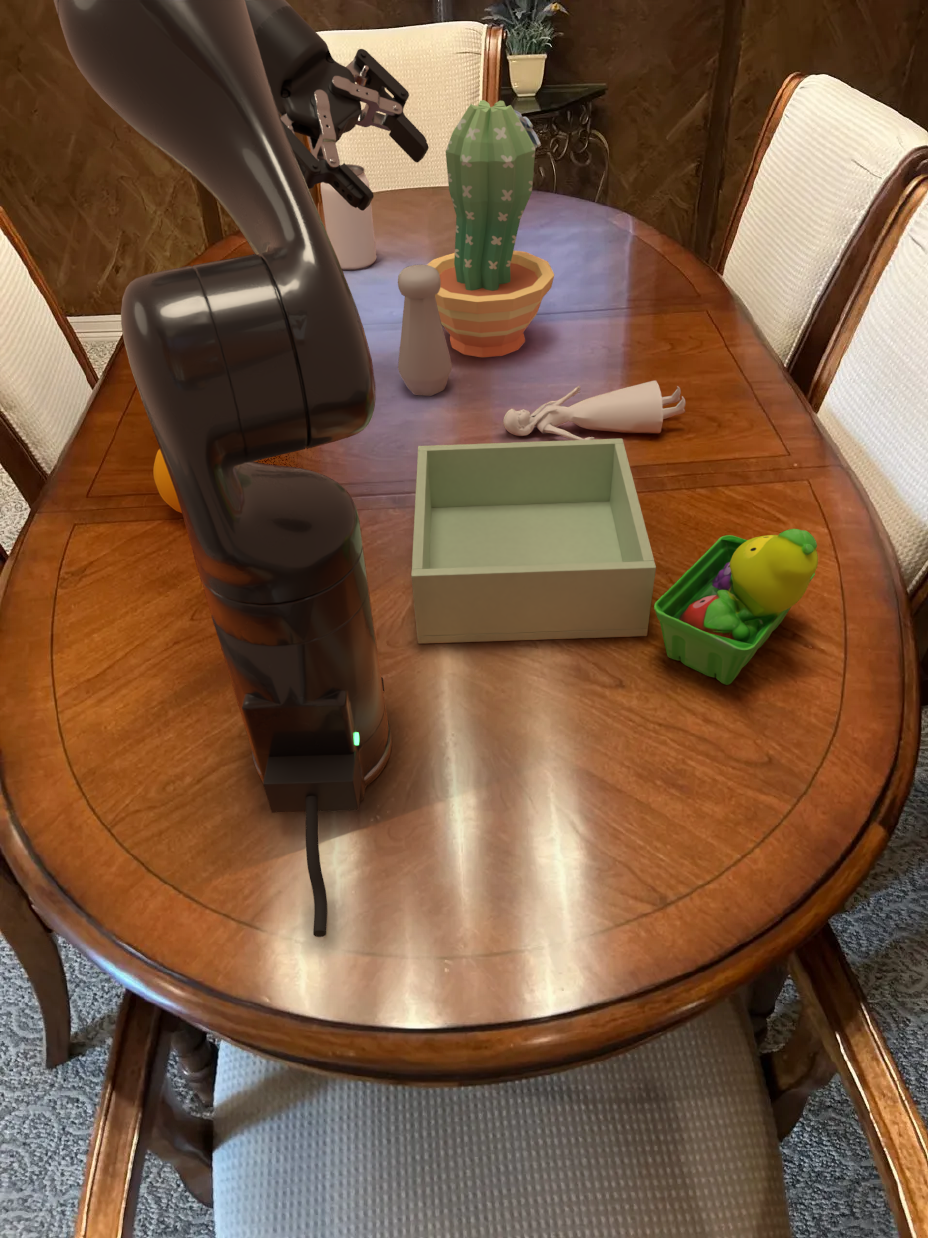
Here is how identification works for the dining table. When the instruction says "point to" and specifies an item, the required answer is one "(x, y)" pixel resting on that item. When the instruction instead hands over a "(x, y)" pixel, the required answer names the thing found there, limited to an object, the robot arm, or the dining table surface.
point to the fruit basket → (735, 600)
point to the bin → (529, 543)
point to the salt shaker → (422, 332)
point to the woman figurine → (601, 412)
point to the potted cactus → (490, 234)
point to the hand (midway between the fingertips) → (396, 178)
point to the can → (349, 227)
